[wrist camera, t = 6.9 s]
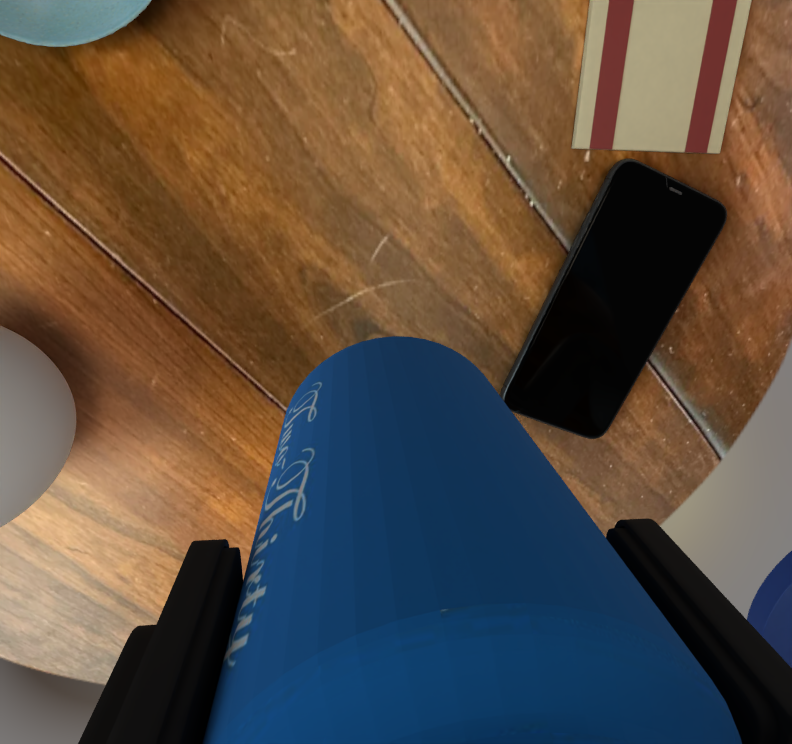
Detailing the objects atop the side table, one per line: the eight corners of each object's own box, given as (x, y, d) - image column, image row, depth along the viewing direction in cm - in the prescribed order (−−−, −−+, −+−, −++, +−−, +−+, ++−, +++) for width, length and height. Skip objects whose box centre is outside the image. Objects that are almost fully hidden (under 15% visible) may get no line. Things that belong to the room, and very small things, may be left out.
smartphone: (596, 439, 34) (727, 207, 30) (602, 445, 33) (737, 208, 29) (491, 401, 32) (614, 151, 28) (495, 407, 31) (622, 150, 27)
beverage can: (368, 283, 15) (450, 601, 3) (540, 406, 16) (968, 889, 5) (242, 458, 16) (5, 1095, 5) (412, 556, 18) (533, 1194, 7)
